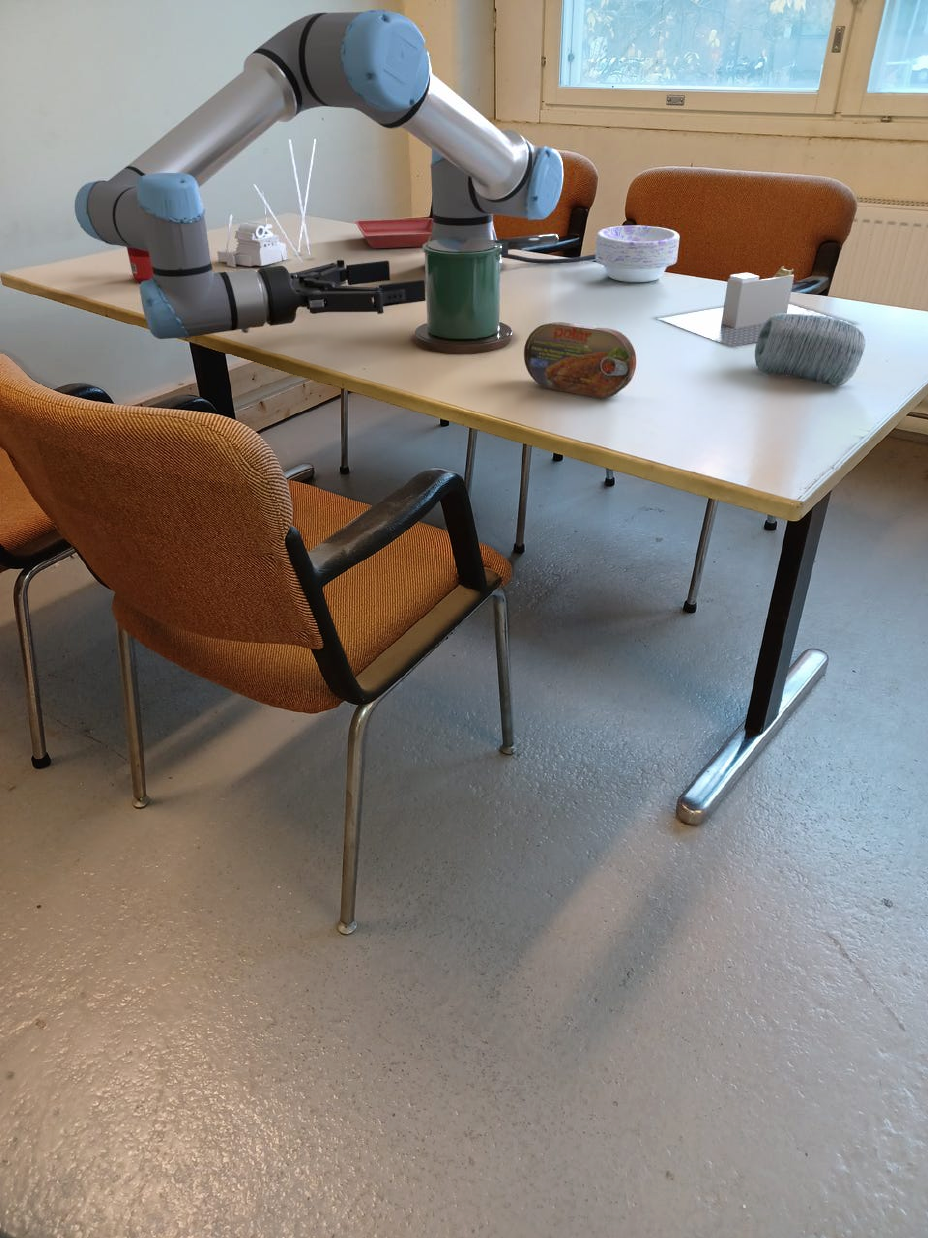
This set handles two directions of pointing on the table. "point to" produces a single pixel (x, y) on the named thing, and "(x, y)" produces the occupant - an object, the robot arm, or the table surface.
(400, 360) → the table surface
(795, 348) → the spool
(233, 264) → the wifi router
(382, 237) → the plant saucer
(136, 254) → the canned food
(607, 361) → the tin
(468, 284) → the pot
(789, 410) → the table surface
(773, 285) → the model
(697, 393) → the table surface
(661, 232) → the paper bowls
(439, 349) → the turntable
